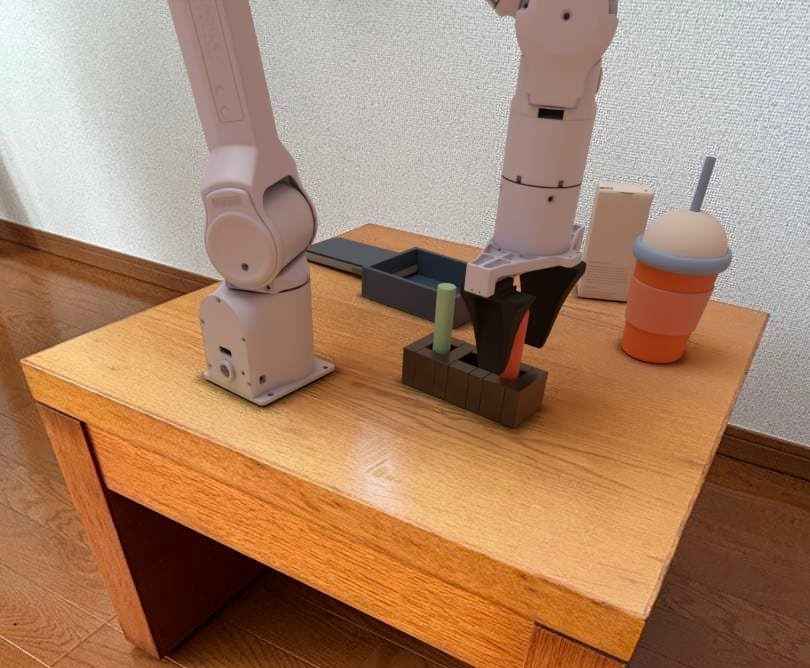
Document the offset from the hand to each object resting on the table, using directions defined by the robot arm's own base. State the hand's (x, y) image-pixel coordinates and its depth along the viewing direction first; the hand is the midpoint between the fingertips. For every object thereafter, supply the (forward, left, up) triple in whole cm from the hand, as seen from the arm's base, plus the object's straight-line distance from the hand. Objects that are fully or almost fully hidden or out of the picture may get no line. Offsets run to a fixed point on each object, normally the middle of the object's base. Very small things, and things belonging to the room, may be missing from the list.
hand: (512, 357), depth 55 cm
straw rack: (0, +4, -5) cm, 6 cm away
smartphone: (+18, +33, -5) cm, 38 cm away
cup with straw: (+21, -5, -5) cm, 22 cm away
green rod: (0, +7, -5) cm, 9 cm away
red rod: (0, 0, -5) cm, 5 cm away
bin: (+16, +20, -5) cm, 26 cm away
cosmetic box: (+32, +6, -5) cm, 33 cm away
